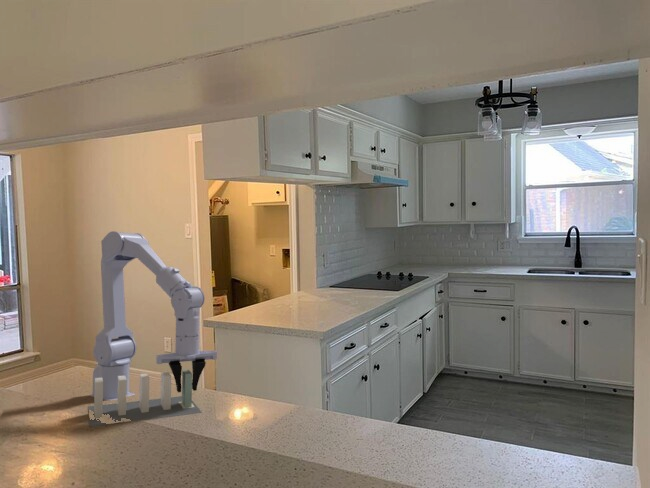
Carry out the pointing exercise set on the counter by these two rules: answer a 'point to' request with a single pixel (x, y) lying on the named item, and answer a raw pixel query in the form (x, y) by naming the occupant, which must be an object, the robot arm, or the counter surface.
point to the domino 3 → (144, 393)
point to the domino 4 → (165, 390)
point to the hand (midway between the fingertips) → (186, 390)
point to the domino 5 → (187, 388)
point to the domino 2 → (121, 395)
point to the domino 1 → (98, 398)
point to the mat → (154, 412)
